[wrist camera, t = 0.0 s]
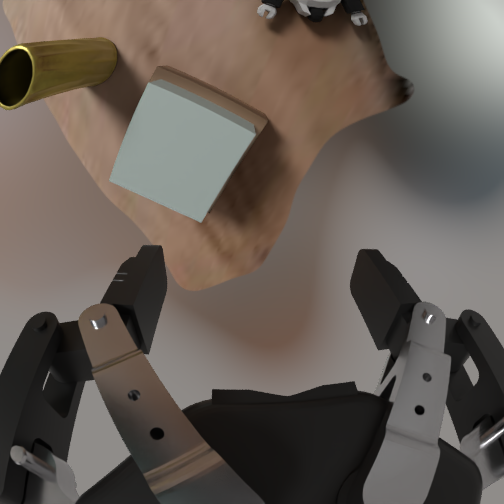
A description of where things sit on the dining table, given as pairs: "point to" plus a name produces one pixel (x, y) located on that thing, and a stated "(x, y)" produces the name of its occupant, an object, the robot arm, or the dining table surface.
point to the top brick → (180, 149)
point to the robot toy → (316, 9)
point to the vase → (53, 68)
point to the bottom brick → (216, 98)
